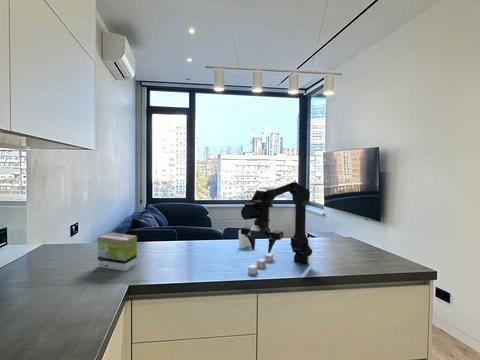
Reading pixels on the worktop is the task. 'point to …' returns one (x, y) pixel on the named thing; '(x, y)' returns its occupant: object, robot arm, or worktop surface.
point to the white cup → (243, 241)
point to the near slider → (252, 269)
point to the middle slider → (261, 263)
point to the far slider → (269, 257)
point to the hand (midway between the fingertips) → (261, 251)
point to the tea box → (117, 251)
